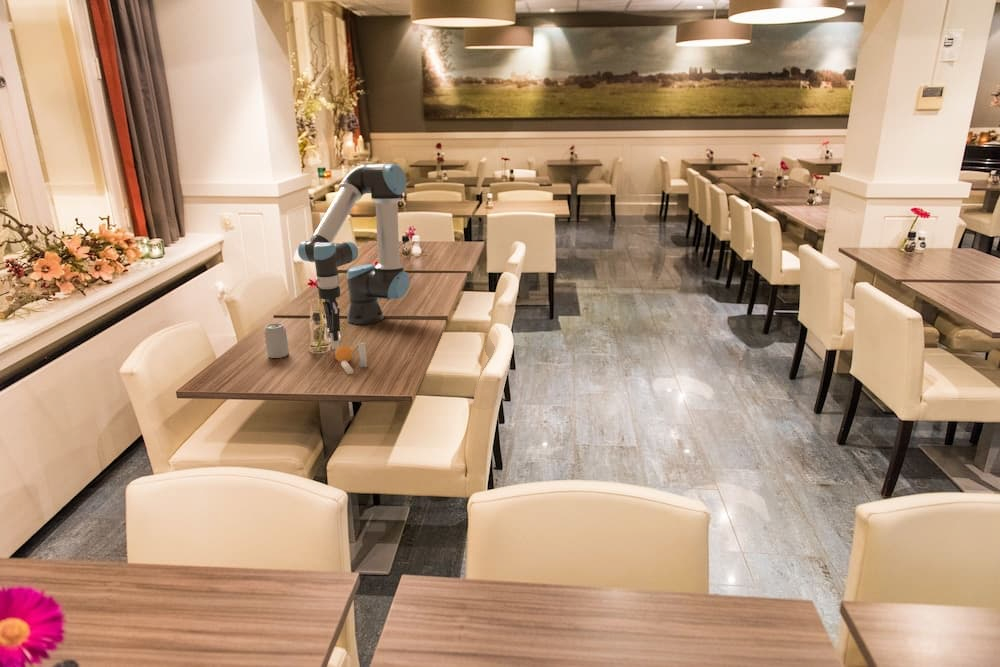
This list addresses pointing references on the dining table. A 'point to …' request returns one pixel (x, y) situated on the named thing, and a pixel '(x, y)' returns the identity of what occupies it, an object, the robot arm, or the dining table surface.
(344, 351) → the ball
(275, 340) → the can
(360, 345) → the pin
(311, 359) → the dining table surface
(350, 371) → the pin
